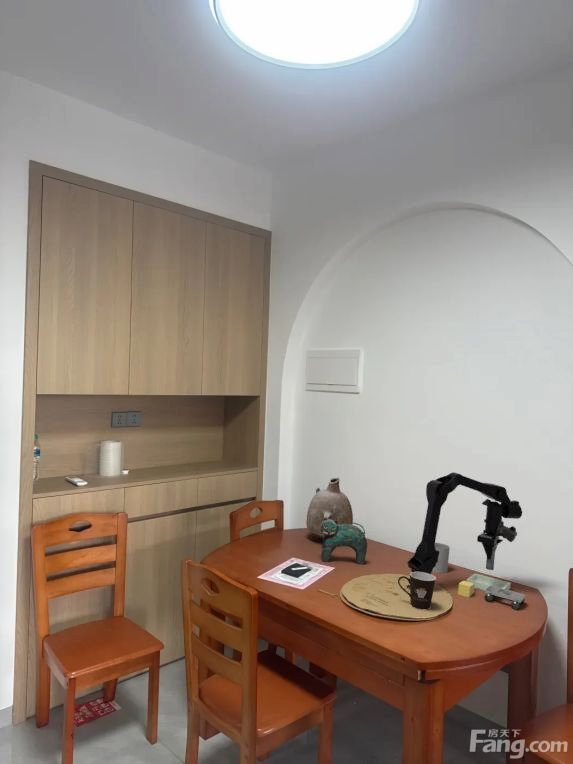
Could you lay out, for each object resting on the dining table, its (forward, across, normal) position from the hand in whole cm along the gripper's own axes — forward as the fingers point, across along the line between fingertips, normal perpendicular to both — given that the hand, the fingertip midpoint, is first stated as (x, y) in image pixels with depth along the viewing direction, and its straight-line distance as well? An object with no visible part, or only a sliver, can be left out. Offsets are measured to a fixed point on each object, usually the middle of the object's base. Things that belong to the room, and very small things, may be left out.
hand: (490, 558), depth 210 cm
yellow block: (+12, -14, +4) cm, 19 cm away
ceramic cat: (+12, -19, +54) cm, 58 cm away
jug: (+12, +3, +74) cm, 75 cm away
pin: (+4, 0, 0) cm, 4 cm away
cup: (+12, +5, +22) cm, 25 cm away
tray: (+11, 0, 0) cm, 11 cm away
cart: (+11, -11, -9) cm, 18 cm away
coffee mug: (+12, -39, +13) cm, 43 cm away
